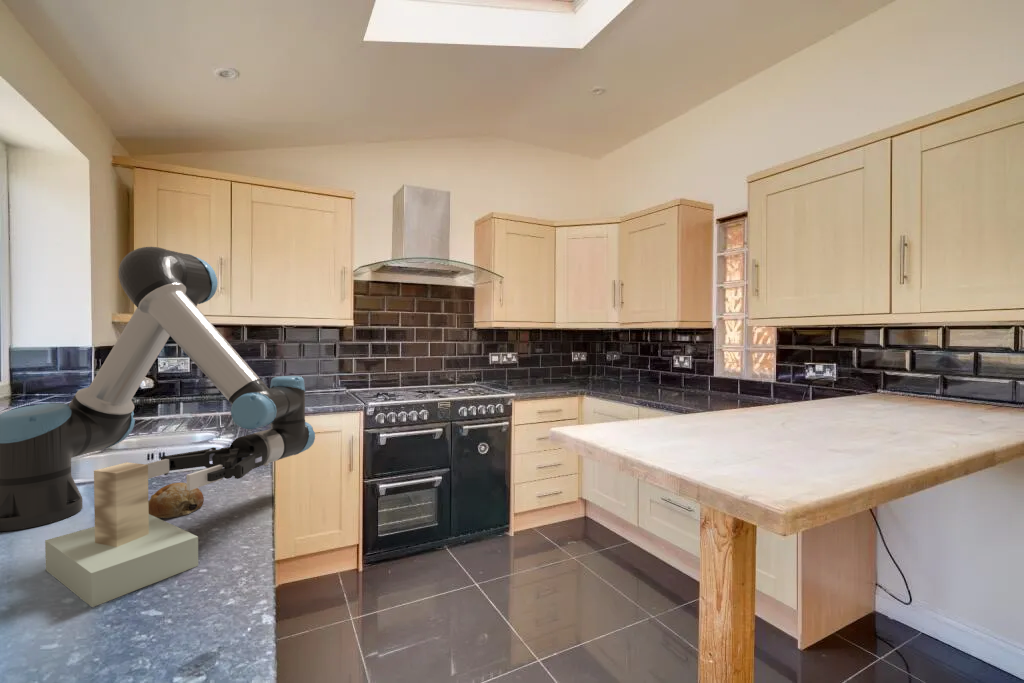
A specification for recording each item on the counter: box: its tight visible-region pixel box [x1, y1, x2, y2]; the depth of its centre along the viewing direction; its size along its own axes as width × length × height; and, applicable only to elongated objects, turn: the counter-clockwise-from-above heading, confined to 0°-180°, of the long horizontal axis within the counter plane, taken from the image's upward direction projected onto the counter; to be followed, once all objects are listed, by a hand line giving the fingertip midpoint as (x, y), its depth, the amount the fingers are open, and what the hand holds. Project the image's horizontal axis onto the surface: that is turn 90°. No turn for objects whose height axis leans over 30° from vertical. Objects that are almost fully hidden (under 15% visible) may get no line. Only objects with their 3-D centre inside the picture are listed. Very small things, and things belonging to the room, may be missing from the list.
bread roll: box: [148, 482, 205, 519], centre depth 103 cm, size 10×10×8 cm
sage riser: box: [44, 514, 199, 608], centre depth 78 cm, size 20×14×5 cm
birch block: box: [93, 461, 149, 547], centre depth 78 cm, size 5×5×12 cm
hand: (159, 479), depth 83 cm, fingers open, 13 cm apart
